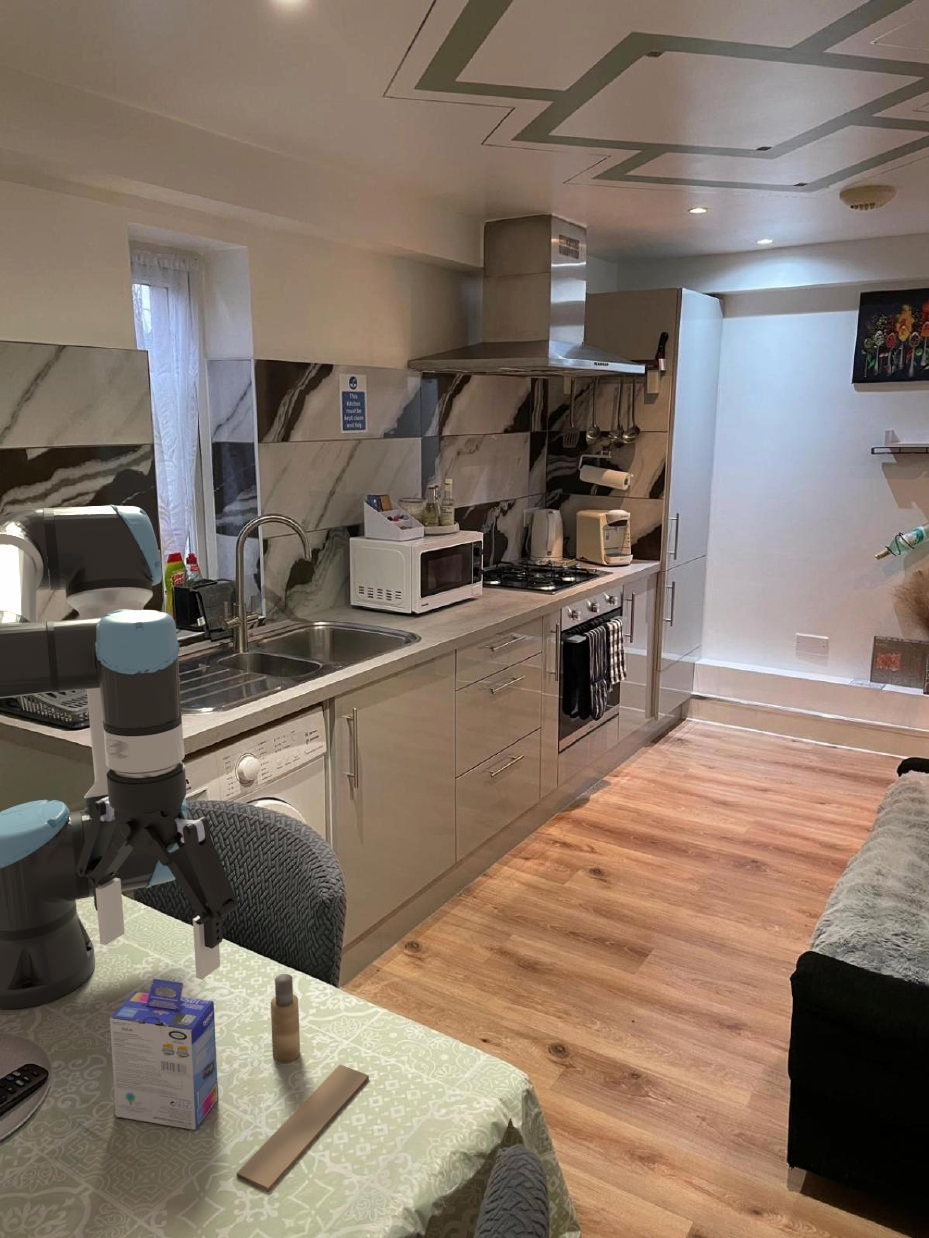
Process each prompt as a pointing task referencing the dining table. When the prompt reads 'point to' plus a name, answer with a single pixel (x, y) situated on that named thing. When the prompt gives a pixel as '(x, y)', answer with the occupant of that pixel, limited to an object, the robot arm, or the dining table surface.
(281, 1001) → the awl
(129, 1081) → the ink cartridge box
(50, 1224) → the dining table surface
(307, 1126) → the strip
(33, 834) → the robot arm
